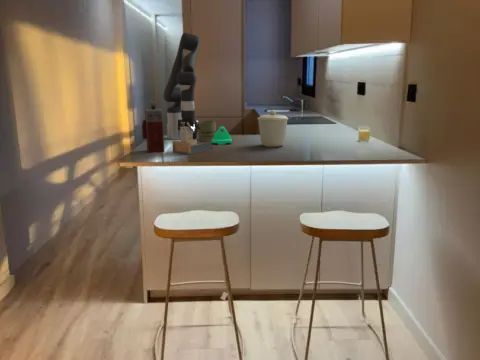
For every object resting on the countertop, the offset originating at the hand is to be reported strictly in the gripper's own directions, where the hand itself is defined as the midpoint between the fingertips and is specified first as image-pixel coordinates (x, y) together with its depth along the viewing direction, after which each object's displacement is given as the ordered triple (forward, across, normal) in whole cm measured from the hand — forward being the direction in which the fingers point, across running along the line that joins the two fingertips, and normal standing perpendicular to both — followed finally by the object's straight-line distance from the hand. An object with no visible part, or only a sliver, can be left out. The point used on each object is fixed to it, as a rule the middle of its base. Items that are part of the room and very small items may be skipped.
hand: (189, 138), depth 254 cm
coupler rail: (+7, 0, +3) cm, 8 cm away
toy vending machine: (+7, -17, -11) cm, 22 cm away
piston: (+7, -19, +37) cm, 42 cm away
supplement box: (+6, 0, 0) cm, 6 cm away
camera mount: (+8, -2, +32) cm, 33 cm away
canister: (+7, +28, +42) cm, 51 cm away
